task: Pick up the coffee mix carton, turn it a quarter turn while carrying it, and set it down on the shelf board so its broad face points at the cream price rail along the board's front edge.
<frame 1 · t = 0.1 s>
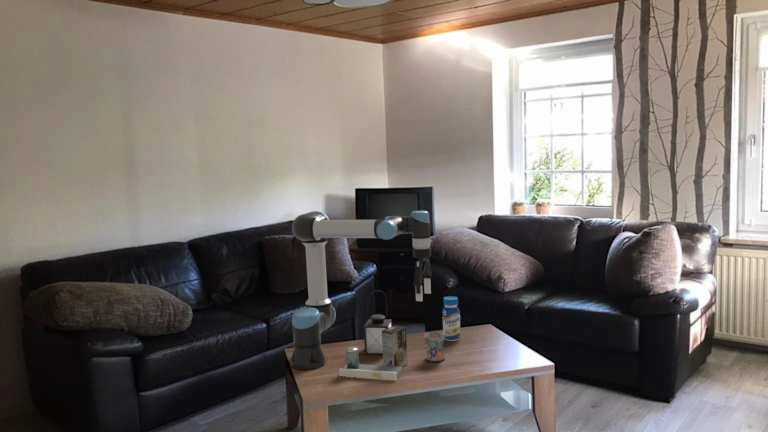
hand: (423, 297, 259), 28 cm above the table, fingers open, 13 cm apart
mug: (434, 358, 265), on the table
lantern: (379, 351, 278), on the table
beverage bottle: (452, 339, 291), on the table
tea tin: (353, 367, 252), point 2 cm above the table, touching shelf board
shelf board: (371, 373, 250), on the table
coffee box: (395, 366, 258), on the table
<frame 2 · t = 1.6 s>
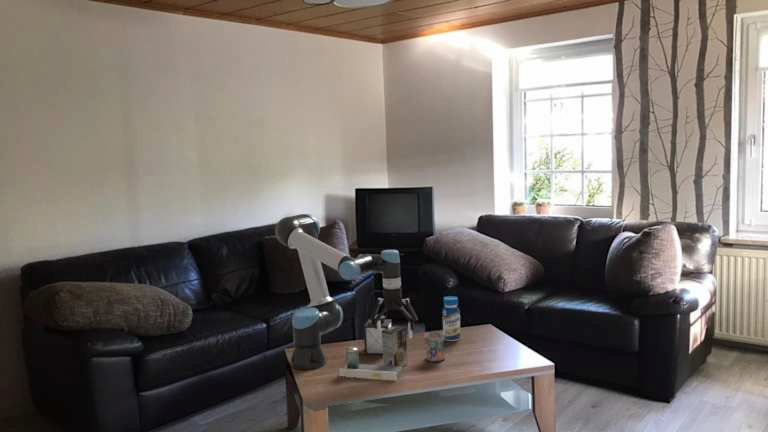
hand: (394, 337, 256), 13 cm above the table, fingers open, 13 cm apart
nothing on the table moved.
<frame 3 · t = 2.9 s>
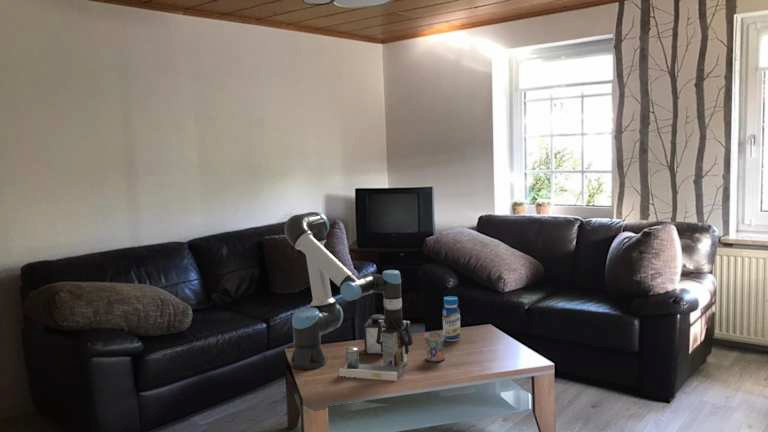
hand: (395, 360, 257), 2 cm above the table, fingers closed on coffee box, 8 cm apart
coffee box: (395, 366, 258), on the table, touching gripper
everything else where it was.
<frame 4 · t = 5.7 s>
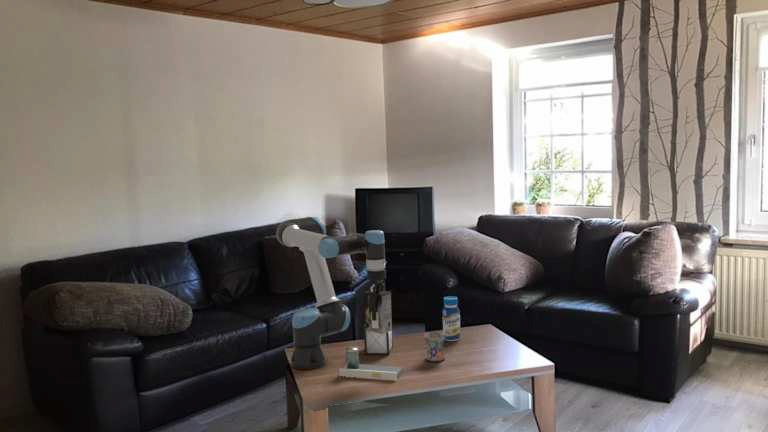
hand: (378, 324, 246), 21 cm above the table, fingers closed on coffee box, 8 cm apart
coffee box: (379, 331, 247), point 18 cm above the table, touching gripper
everything else where it was.
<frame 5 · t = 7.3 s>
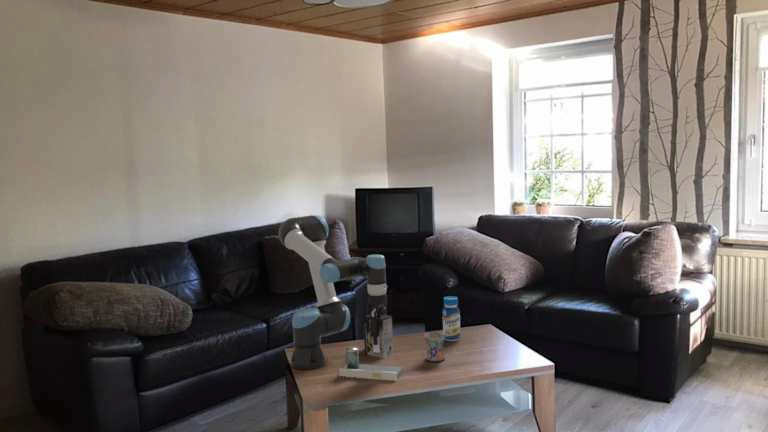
hand: (380, 348, 247), 11 cm above the table, fingers closed on coffee box, 8 cm apart
coffee box: (380, 355, 247), point 8 cm above the table, touching gripper
everything else where it was.
when the fingers open (6 cm above the table, at t = 8.7 s): coffee box drops 1 cm, resting on shelf board.
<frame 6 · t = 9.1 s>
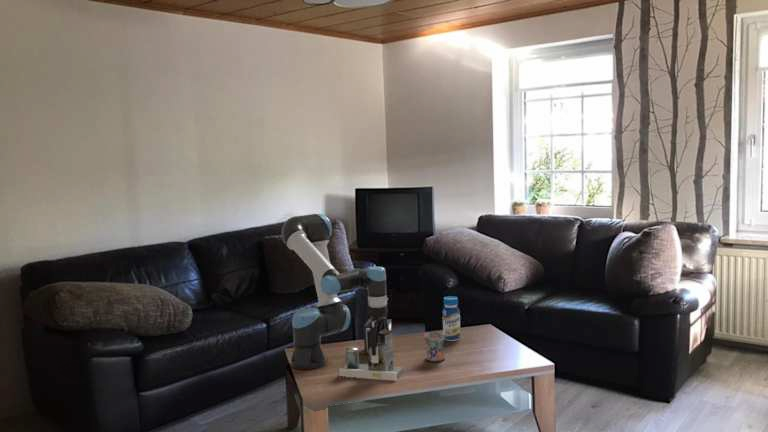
hand: (380, 357, 248), 7 cm above the table, fingers open, 12 cm apart
coffee box: (381, 369, 249), point 2 cm above the table, touching shelf board
everything else where it was.
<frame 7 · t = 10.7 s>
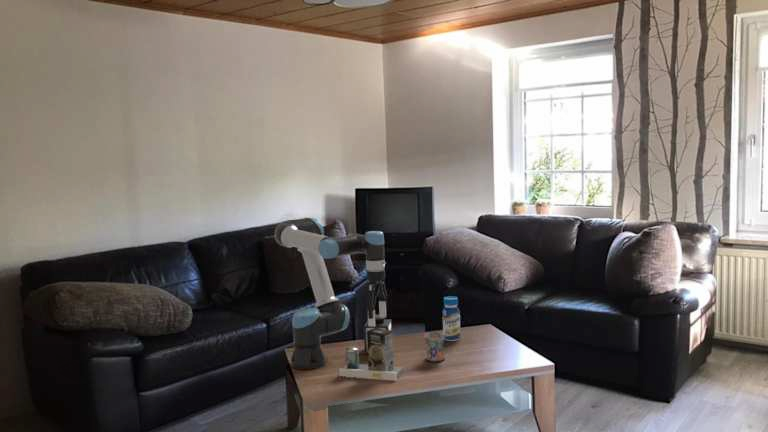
hand: (377, 321, 248), 22 cm above the table, fingers open, 13 cm apart
nothing on the table moved.
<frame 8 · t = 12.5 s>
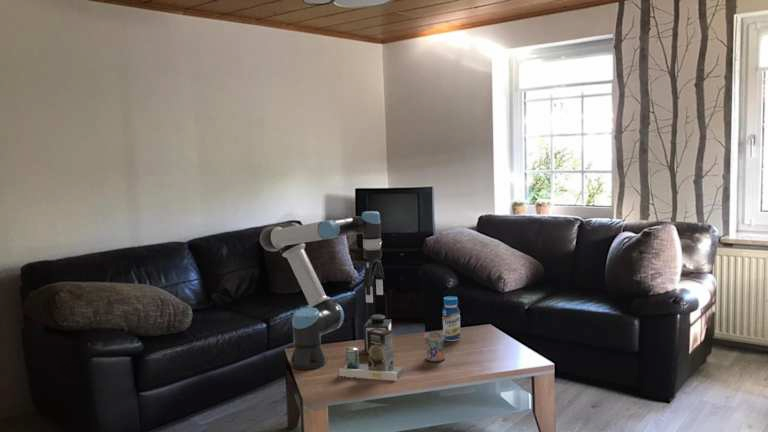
hand: (374, 298, 257), 29 cm above the table, fingers open, 13 cm apart
nothing on the table moved.
at the end: coffee box inside the target area on the shelf board (0.8 cm from its centre), point 1.8 cm above the shelf board's base; coffee box tilted 0°; the gripper is holding nothing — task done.
